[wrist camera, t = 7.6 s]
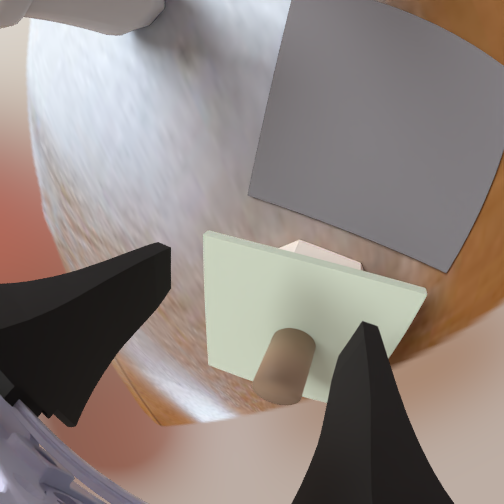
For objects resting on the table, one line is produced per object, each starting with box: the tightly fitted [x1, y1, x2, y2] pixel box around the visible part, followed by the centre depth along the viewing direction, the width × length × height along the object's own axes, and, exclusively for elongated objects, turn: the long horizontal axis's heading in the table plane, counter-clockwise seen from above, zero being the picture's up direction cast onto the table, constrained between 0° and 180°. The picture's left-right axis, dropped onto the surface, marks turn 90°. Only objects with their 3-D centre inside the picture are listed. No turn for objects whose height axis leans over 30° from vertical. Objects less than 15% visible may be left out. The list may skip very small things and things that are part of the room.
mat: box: [248, 0, 504, 273], centre depth 13 cm, size 15×15×1 cm
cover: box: [203, 230, 427, 405], centre depth 16 cm, size 13×13×5 cm
